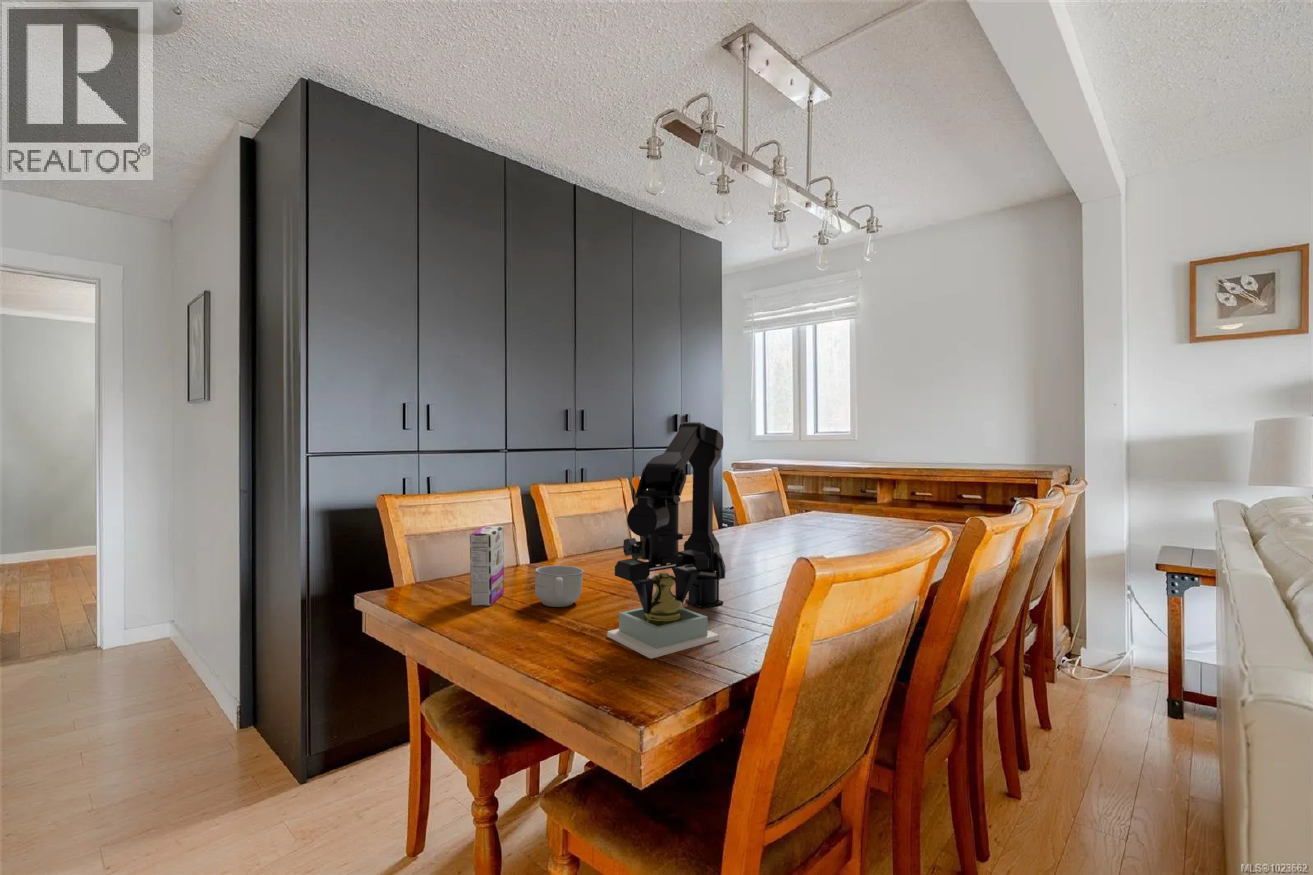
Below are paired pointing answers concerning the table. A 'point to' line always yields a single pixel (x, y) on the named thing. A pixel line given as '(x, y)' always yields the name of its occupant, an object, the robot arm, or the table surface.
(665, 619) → the gold rounded piece
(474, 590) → the candy bar box
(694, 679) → the table surface
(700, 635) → the grey green tray
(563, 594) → the teacup
